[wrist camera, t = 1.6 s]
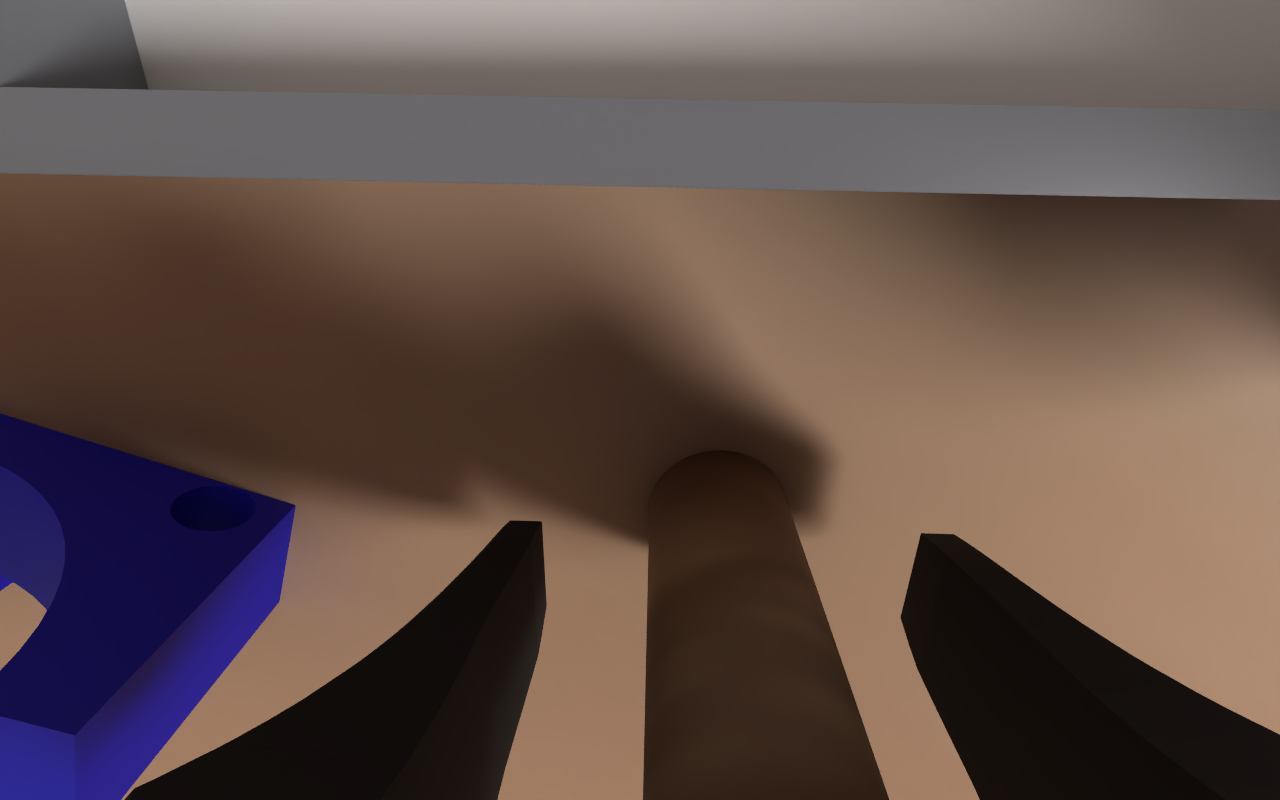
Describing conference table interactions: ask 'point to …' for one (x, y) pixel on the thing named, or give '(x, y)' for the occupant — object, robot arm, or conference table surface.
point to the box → (655, 93)
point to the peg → (742, 649)
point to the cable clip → (120, 605)
